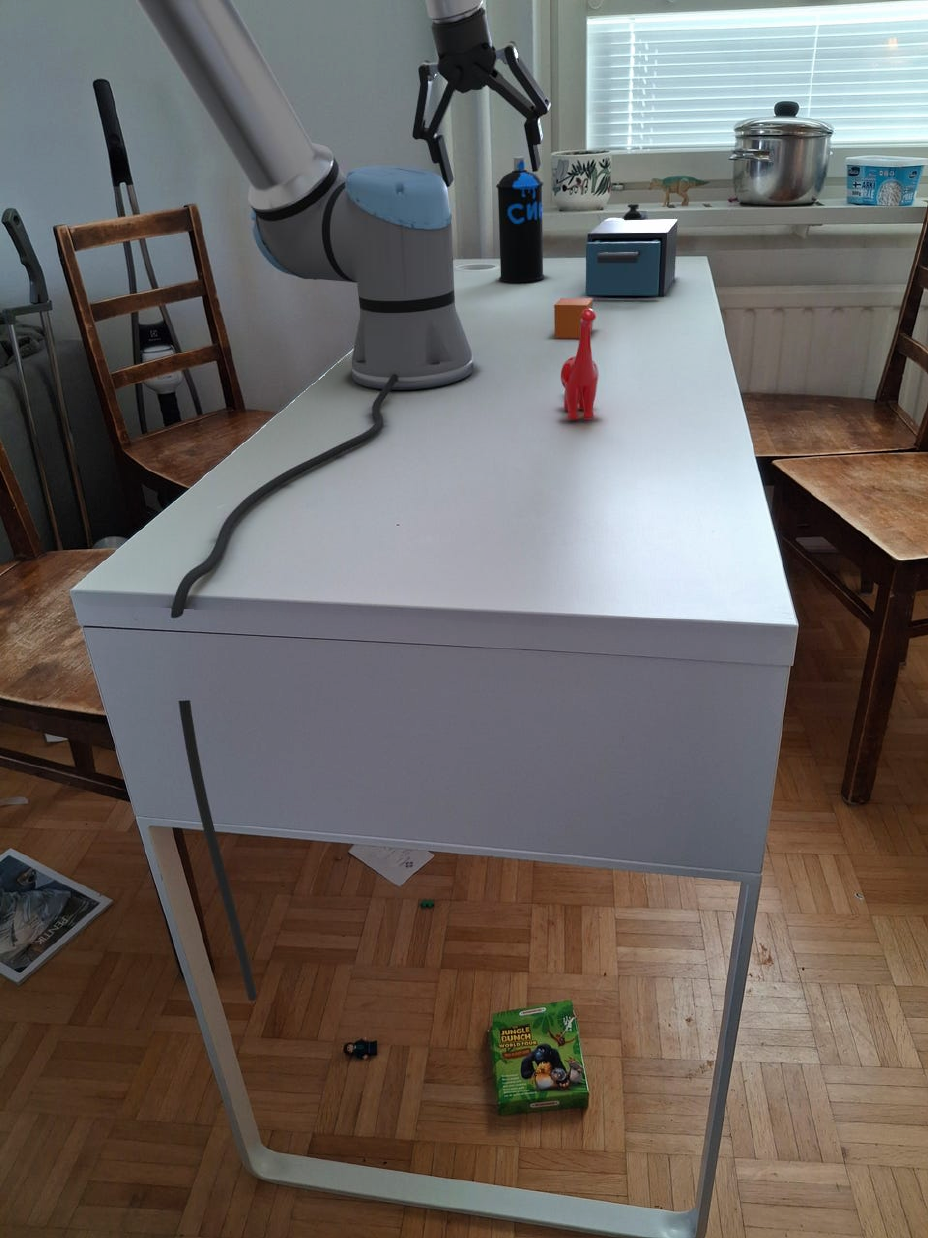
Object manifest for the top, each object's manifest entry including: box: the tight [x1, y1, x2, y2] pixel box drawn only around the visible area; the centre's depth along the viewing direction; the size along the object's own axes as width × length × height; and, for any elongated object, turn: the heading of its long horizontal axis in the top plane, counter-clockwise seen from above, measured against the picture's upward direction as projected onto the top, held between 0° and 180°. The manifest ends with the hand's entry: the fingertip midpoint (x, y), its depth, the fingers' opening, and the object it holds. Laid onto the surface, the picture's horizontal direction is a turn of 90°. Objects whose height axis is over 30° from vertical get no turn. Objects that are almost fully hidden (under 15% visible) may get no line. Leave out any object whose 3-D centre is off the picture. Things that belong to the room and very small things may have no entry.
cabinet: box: [586, 218, 679, 297], centre depth 156 cm, size 15×13×10 cm
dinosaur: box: [560, 309, 599, 421], centre depth 96 cm, size 4×15×12 cm, turn 1°
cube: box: [553, 297, 594, 339], centre depth 130 cm, size 4×4×4 cm
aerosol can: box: [495, 156, 545, 284], centre depth 165 cm, size 8×8×20 cm
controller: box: [621, 203, 649, 220], centre depth 181 cm, size 4×12×10 cm, turn 165°
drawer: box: [585, 238, 662, 296], centre depth 150 cm, size 18×11×8 cm, turn 163°
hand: (492, 175), depth 139 cm, fingers open, 13 cm apart
